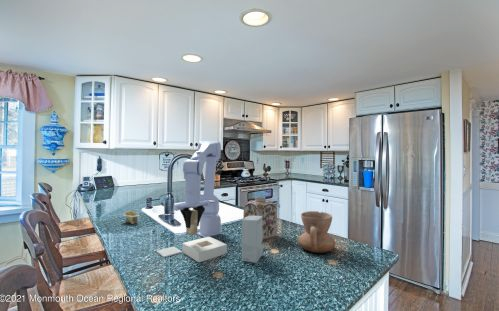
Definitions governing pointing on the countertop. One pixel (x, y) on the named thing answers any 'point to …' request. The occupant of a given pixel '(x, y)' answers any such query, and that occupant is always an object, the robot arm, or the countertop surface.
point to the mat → (168, 251)
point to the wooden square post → (193, 223)
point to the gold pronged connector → (131, 217)
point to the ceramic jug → (316, 232)
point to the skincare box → (252, 238)
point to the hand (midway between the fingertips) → (192, 226)
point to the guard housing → (204, 249)
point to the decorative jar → (263, 215)
